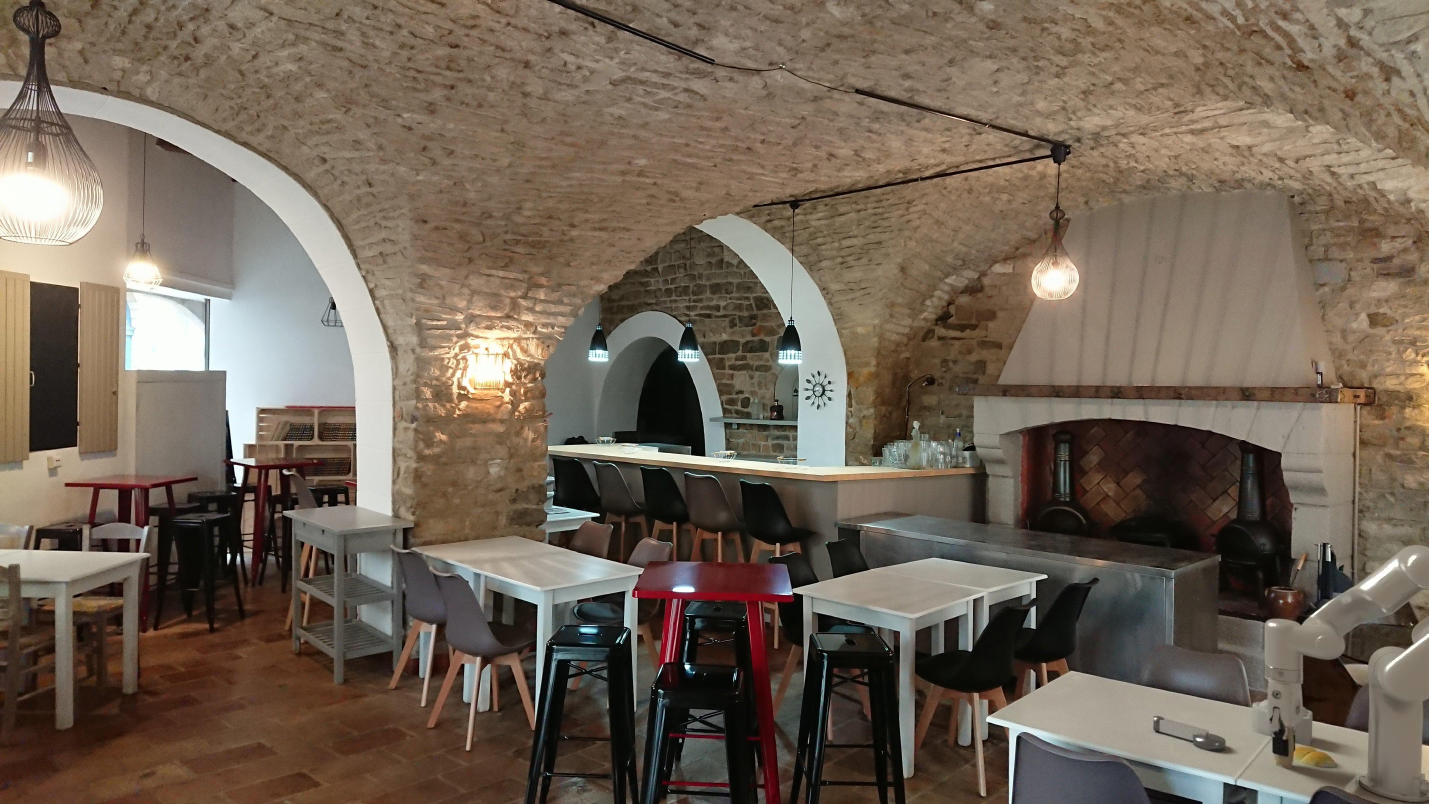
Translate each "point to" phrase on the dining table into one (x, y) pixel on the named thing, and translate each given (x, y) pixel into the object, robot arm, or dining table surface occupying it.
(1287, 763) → the handle
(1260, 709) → the white egg tray
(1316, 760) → the bread roll
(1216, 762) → the dining table surface
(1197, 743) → the grey elongated piece
